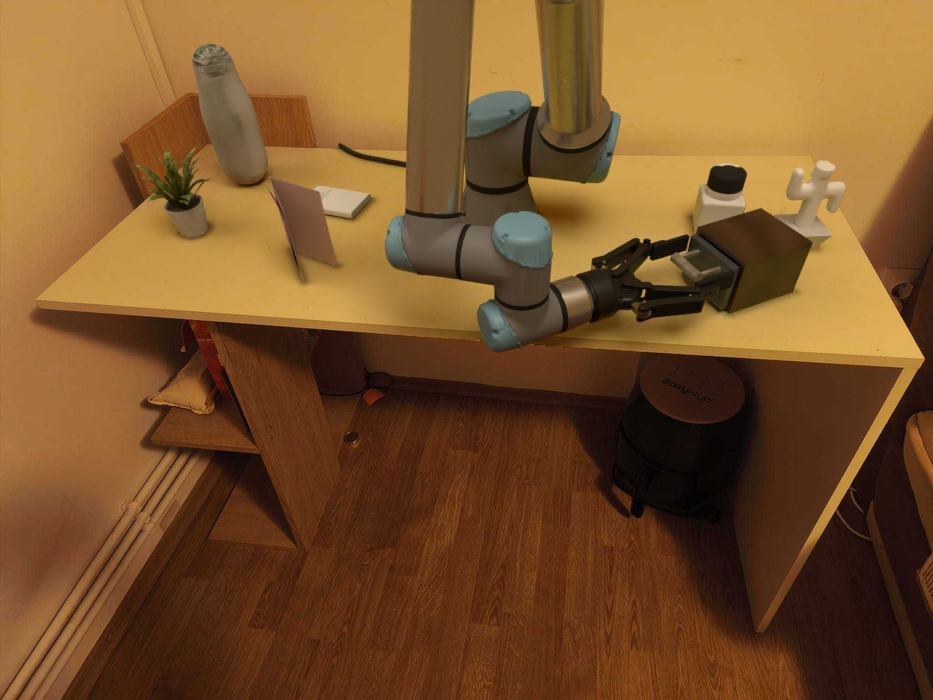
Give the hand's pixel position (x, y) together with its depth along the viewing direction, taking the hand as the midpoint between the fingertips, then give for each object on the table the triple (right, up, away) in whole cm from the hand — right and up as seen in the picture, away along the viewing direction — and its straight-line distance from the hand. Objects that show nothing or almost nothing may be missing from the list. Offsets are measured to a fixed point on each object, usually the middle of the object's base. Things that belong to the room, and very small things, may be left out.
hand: (708, 259), depth 95 cm
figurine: (+21, +5, +15) cm, 26 cm away
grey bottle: (-85, +23, +41) cm, 97 cm away
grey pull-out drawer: (+3, -4, +5) cm, 7 cm away
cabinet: (+8, -3, +7) cm, 11 cm away
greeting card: (-65, +2, +17) cm, 68 cm away
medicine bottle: (+8, +8, +19) cm, 23 cm away
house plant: (-90, +9, +27) cm, 94 cm away
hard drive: (-64, +16, +32) cm, 73 cm away
